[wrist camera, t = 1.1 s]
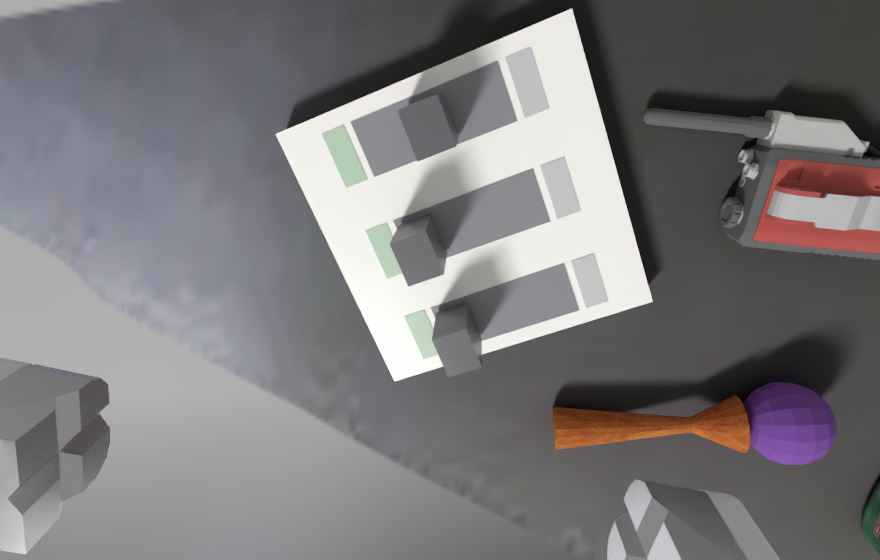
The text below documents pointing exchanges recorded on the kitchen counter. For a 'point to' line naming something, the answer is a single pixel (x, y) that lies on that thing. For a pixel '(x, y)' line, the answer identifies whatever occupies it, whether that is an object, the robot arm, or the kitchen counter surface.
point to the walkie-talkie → (797, 183)
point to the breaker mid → (419, 250)
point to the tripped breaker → (429, 126)
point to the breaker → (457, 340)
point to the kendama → (720, 424)
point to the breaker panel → (478, 198)
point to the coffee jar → (872, 519)
